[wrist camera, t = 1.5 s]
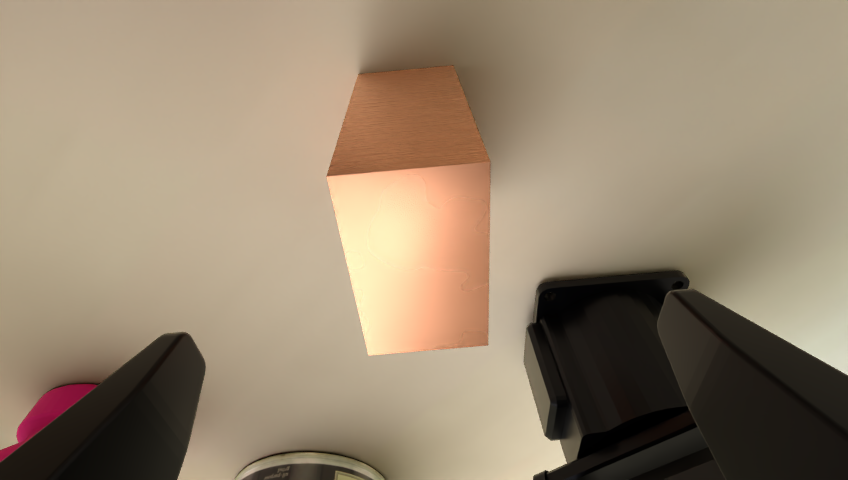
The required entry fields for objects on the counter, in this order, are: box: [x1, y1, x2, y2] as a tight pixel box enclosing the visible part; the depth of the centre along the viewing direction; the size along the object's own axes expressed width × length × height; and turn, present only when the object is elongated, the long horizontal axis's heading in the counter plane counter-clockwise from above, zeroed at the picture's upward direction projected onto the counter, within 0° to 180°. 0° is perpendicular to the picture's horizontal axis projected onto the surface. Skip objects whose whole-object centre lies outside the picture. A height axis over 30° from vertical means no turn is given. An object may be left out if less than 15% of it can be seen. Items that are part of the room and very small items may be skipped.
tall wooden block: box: [327, 65, 490, 355], centre depth 12 cm, size 3×5×7 cm, turn 4°
